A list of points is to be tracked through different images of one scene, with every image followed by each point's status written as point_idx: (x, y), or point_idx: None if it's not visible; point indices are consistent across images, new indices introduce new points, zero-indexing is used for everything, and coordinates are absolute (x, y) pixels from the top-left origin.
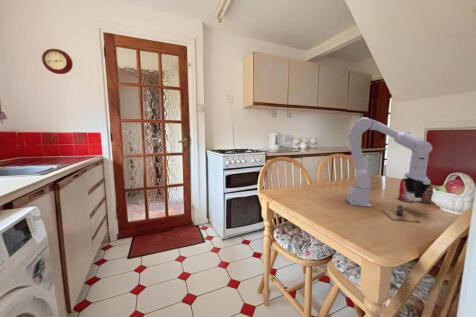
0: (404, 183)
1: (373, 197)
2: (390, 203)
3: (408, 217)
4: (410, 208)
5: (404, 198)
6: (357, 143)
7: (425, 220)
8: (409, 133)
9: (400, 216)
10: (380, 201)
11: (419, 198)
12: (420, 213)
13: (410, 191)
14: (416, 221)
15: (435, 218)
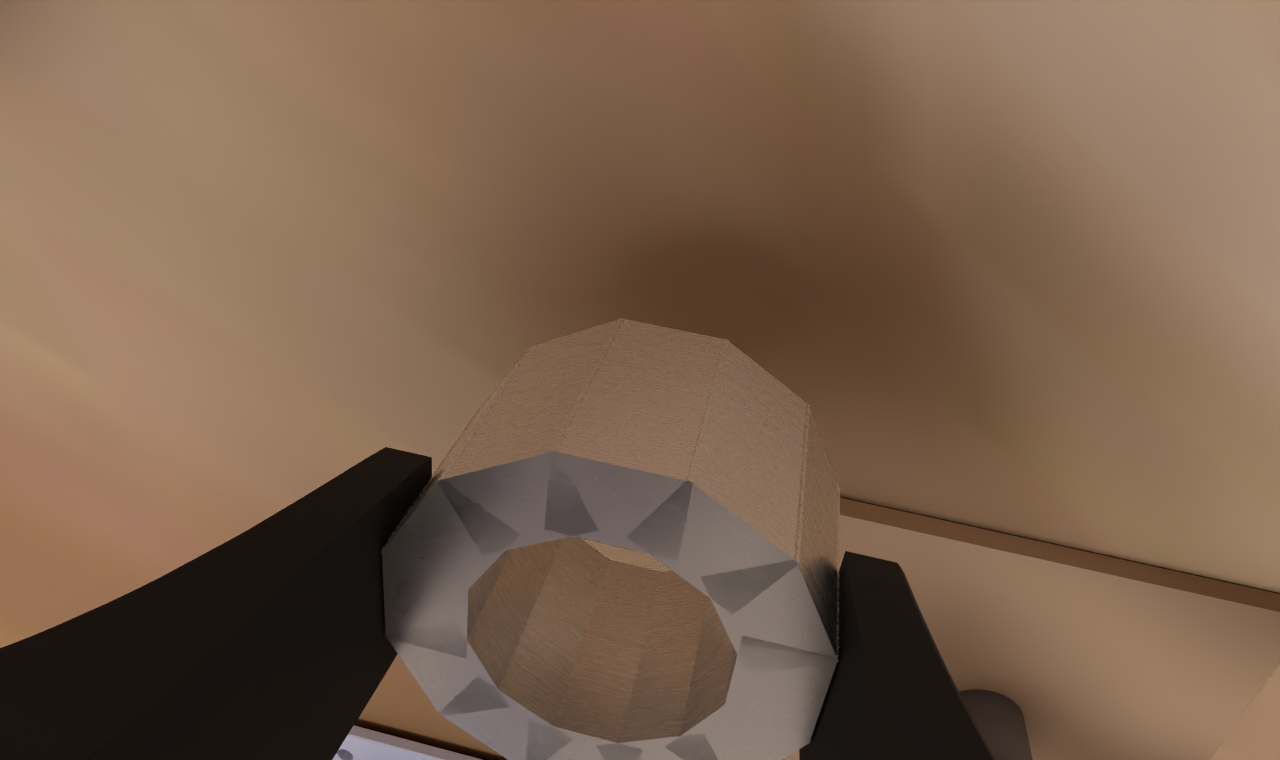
0: None
1: (21, 469)
2: (288, 391)
3: (1098, 666)
4: (507, 181)
5: None
6: None
7: (1208, 411)
8: None
9: (1038, 742)
10: (230, 495)
11: (830, 527)
12: (814, 194)
13: (441, 647)
14: (1274, 658)
15: (1138, 73)
